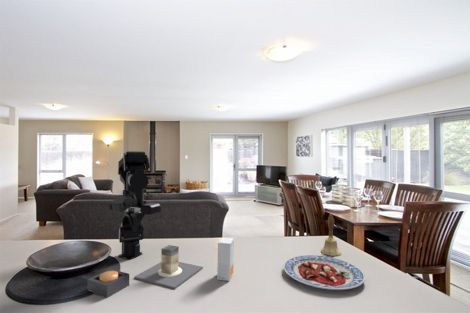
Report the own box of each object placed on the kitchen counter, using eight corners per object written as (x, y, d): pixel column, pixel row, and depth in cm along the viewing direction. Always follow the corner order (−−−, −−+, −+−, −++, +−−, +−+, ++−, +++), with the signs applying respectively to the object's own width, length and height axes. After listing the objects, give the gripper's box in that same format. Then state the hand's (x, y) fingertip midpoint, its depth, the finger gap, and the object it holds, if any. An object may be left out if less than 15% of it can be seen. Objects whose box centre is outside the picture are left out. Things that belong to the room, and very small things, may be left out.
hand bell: (316, 251, 111) (317, 214, 111) (327, 247, 116) (327, 211, 116) (335, 257, 105) (335, 217, 105) (345, 253, 110) (345, 214, 110)
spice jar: (161, 272, 88) (161, 248, 88) (168, 267, 92) (169, 244, 92) (170, 274, 86) (171, 250, 86) (178, 270, 90) (178, 246, 90)
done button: (95, 284, 77) (95, 276, 77) (109, 277, 82) (110, 269, 82) (107, 288, 75) (107, 279, 75) (121, 281, 80) (121, 272, 80)
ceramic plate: (276, 285, 82) (276, 276, 82) (290, 256, 106) (290, 249, 106) (368, 304, 72) (368, 293, 72) (361, 267, 96) (361, 259, 96)
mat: (134, 278, 85) (134, 276, 85) (166, 260, 100) (166, 258, 100) (174, 289, 79) (174, 286, 79) (202, 268, 93) (202, 266, 93)
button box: (87, 291, 77) (87, 279, 77) (110, 279, 84) (110, 268, 84) (107, 297, 73) (107, 285, 73) (129, 285, 81) (129, 273, 81)
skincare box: (229, 281, 84) (230, 243, 84) (216, 280, 85) (217, 242, 85) (233, 273, 90) (234, 238, 90) (221, 272, 91) (222, 237, 91)
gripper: (96, 187, 89) (95, 233, 89) (138, 191, 82) (137, 241, 82) (122, 184, 100) (122, 225, 100) (162, 187, 92) (161, 232, 92)
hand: (134, 231), depth 93 cm, fingers closed
